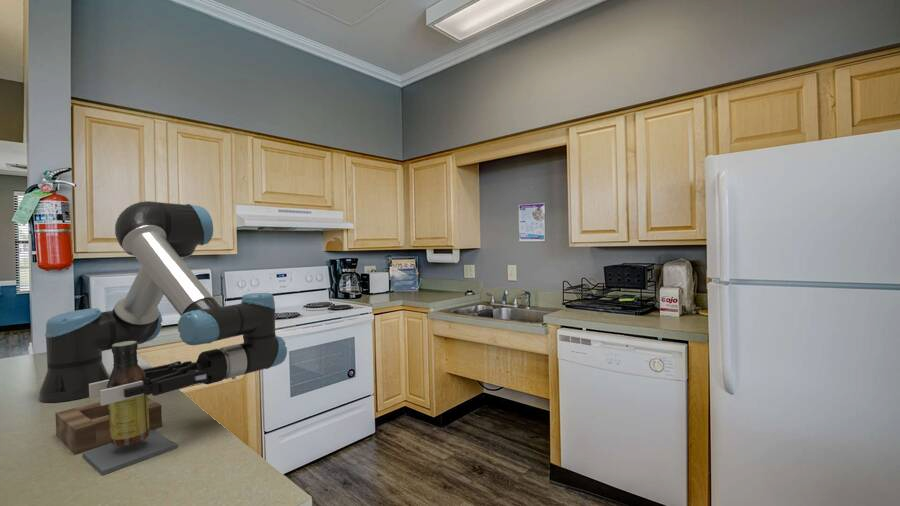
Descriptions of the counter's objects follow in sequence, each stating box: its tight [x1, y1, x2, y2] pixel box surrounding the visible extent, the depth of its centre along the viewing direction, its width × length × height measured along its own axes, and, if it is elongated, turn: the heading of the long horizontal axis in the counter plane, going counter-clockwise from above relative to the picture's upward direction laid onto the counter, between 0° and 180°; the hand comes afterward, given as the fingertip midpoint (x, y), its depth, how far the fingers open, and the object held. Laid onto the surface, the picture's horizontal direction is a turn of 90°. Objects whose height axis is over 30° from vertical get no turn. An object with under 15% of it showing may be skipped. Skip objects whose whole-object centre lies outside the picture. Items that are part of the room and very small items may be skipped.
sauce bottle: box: [107, 341, 150, 446], centre depth 82 cm, size 7×6×20 cm
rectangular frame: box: [55, 397, 163, 455], centre depth 92 cm, size 15×15×5 cm
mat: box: [82, 429, 178, 476], centre depth 82 cm, size 12×12×1 cm
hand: (95, 394), depth 78 cm, fingers closed on sauce bottle, 6 cm apart
